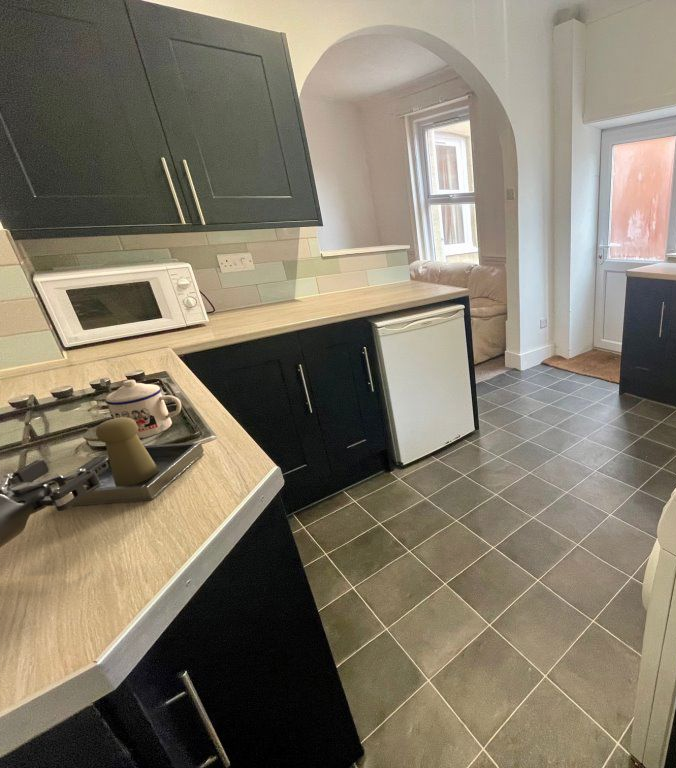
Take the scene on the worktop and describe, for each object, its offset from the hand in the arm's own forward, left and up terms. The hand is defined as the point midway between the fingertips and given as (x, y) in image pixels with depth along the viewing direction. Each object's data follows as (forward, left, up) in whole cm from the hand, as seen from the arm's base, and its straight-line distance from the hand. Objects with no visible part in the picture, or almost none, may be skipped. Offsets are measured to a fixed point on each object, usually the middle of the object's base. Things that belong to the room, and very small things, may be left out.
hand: (74, 463), depth 63 cm
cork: (0, +9, -9) cm, 12 cm away
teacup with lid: (-10, +29, -9) cm, 32 cm away
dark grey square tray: (0, +9, -9) cm, 12 cm away
